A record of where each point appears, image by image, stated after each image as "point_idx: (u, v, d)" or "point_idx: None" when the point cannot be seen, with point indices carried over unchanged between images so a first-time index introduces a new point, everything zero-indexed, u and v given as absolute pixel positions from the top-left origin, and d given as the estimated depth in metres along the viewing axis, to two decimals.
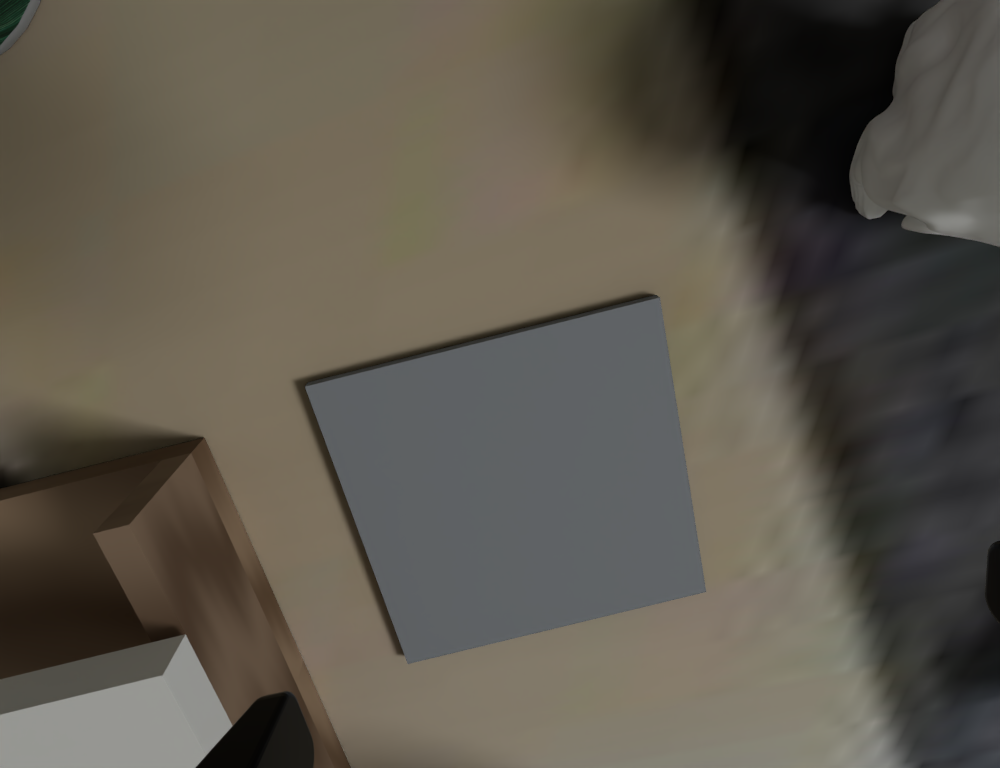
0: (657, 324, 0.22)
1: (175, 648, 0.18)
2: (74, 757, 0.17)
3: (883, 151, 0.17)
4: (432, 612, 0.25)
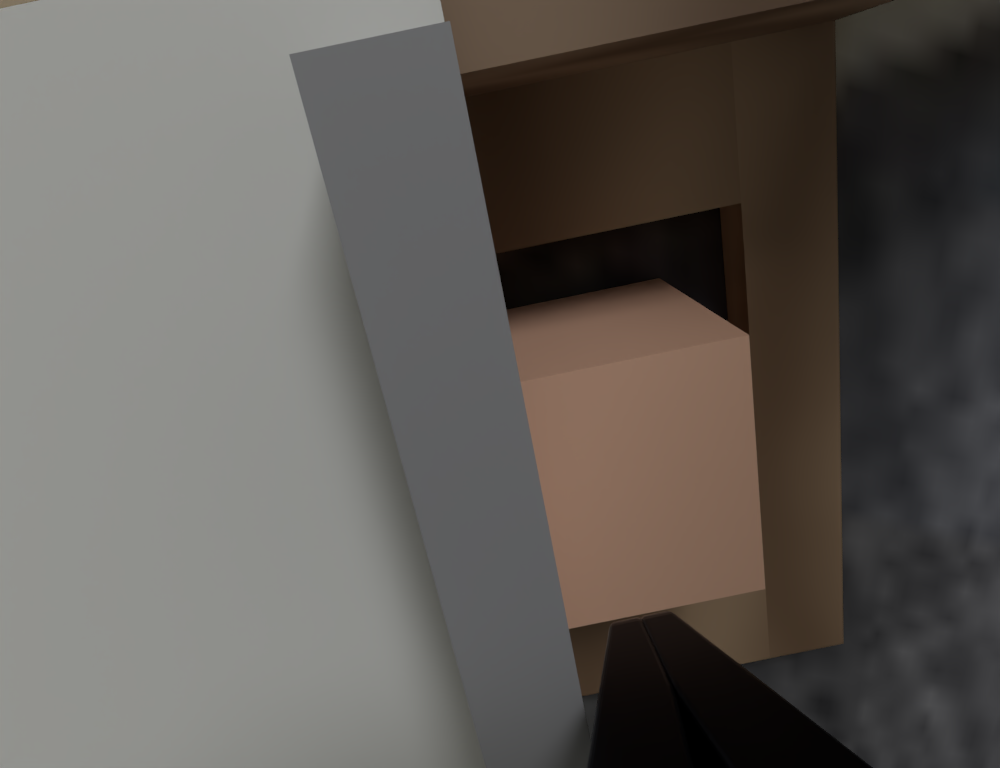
0: None
1: None
2: None
3: None
4: None
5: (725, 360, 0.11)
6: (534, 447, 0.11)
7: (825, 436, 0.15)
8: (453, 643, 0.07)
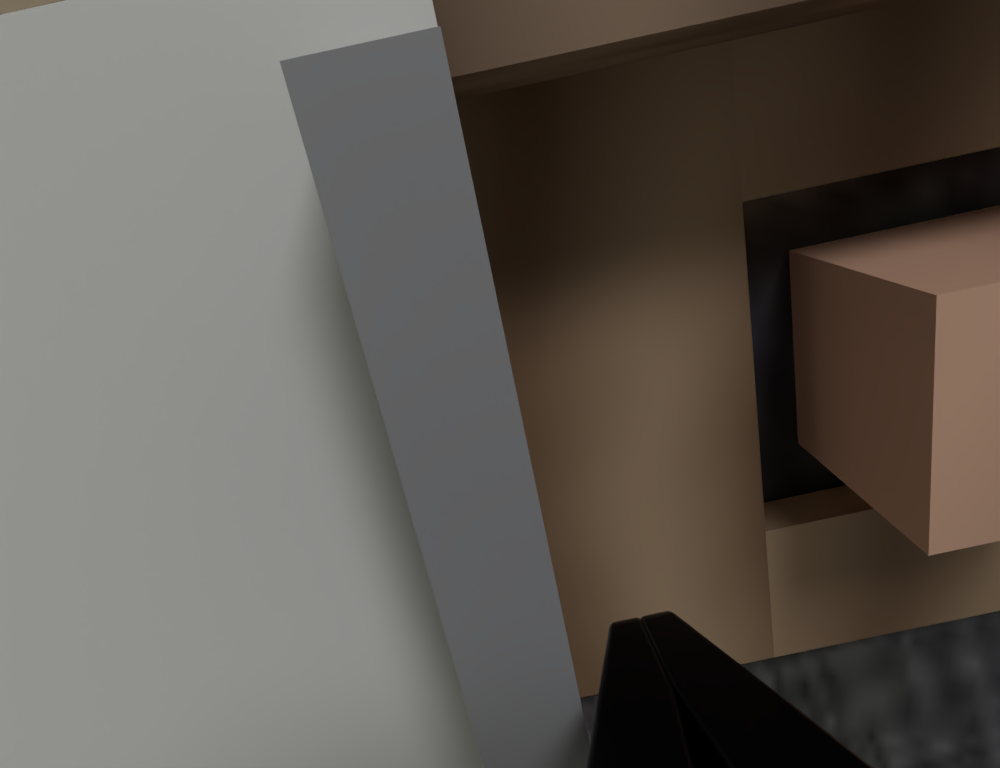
0: None
1: None
2: None
3: None
4: None
5: None
6: None
7: None
8: (451, 648, 0.07)
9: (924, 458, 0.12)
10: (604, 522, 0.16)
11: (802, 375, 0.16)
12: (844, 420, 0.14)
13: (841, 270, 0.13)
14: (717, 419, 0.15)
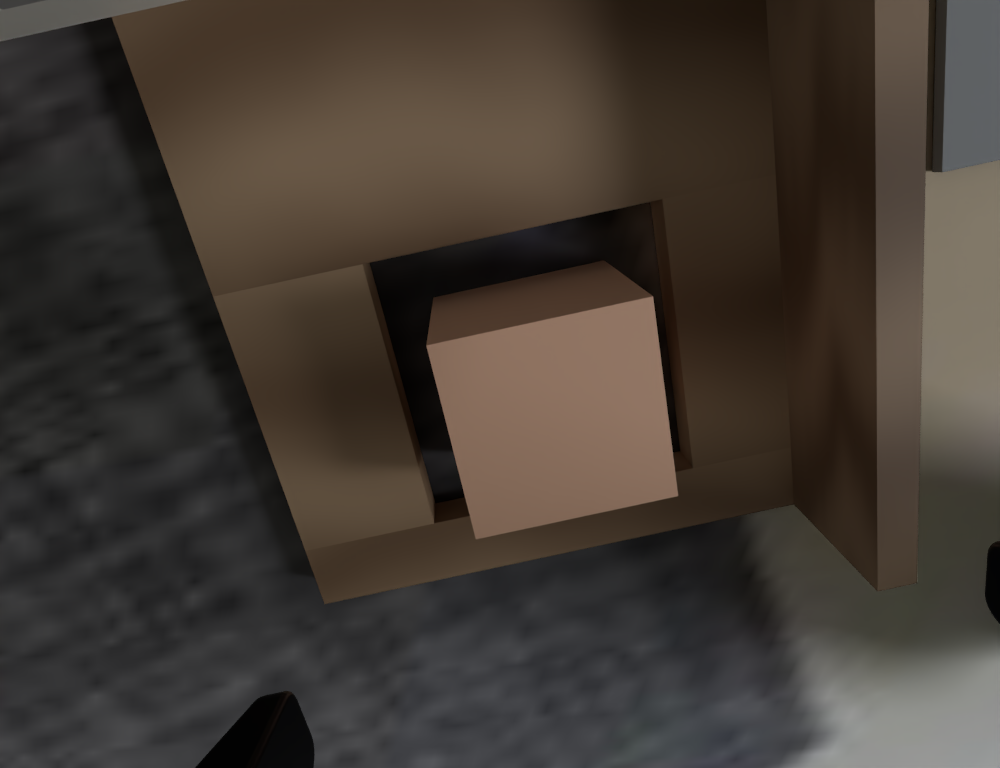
0: None
1: None
2: None
3: None
4: None
5: (662, 484, 0.16)
6: (607, 363, 0.15)
7: (518, 552, 0.20)
8: None
9: (513, 324, 0.14)
10: (367, 96, 0.16)
11: (503, 285, 0.18)
12: (492, 302, 0.17)
13: (619, 274, 0.17)
14: (477, 201, 0.17)
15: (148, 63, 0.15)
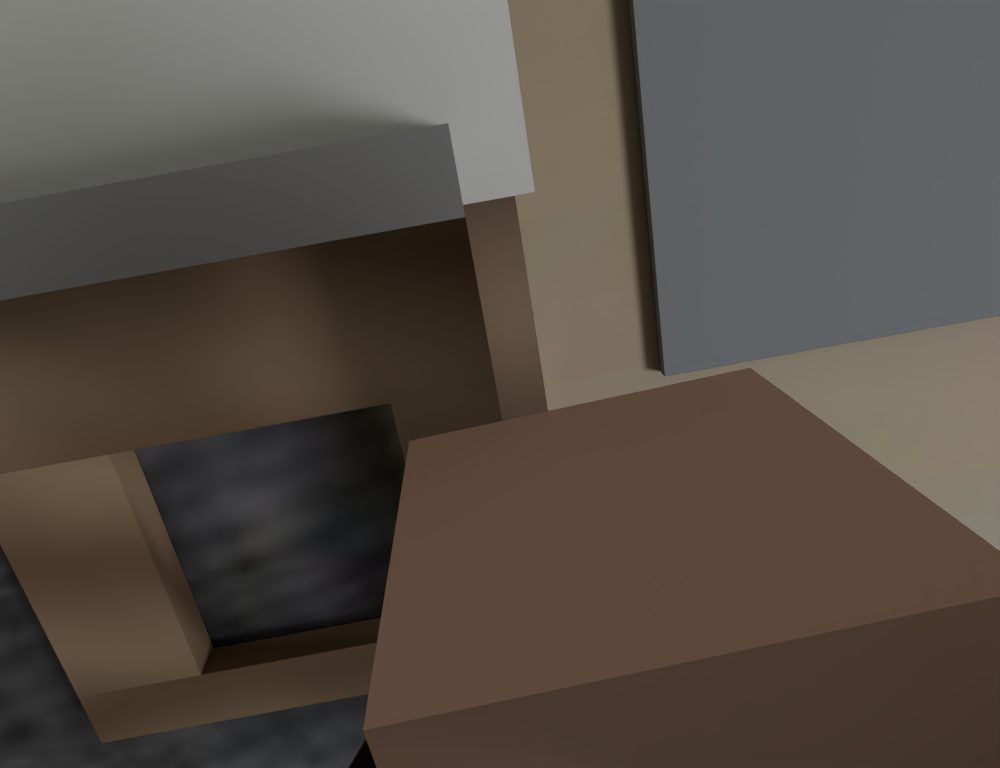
0: None
1: None
2: None
3: None
4: (713, 298, 0.19)
5: None
6: (881, 750, 0.05)
7: (285, 700, 0.22)
8: (28, 199, 0.08)
9: (620, 655, 0.05)
10: (99, 313, 0.17)
11: (551, 424, 0.09)
12: (535, 495, 0.07)
13: (829, 432, 0.07)
14: (213, 403, 0.18)
15: None
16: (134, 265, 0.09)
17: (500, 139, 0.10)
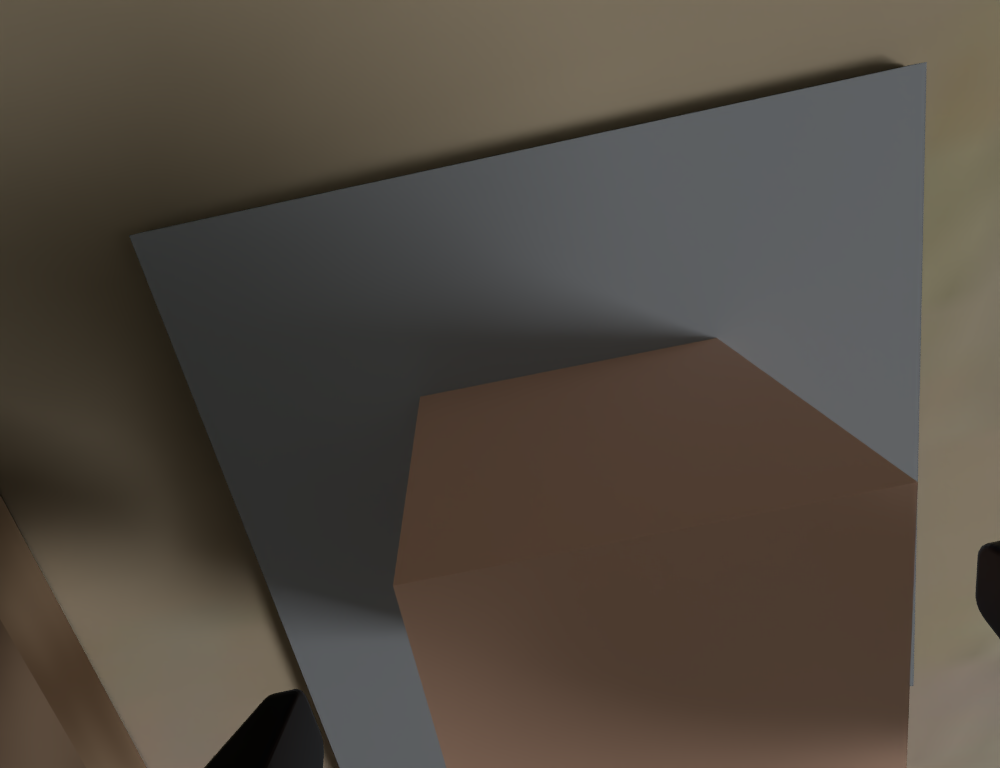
0: (911, 128, 0.10)
1: None
2: None
3: None
4: (402, 713, 0.13)
5: None
6: (795, 616, 0.07)
7: None
8: None
9: (592, 533, 0.06)
10: None
11: (543, 382, 0.10)
12: (529, 432, 0.09)
13: (774, 384, 0.09)
14: None
15: None
16: None
17: None
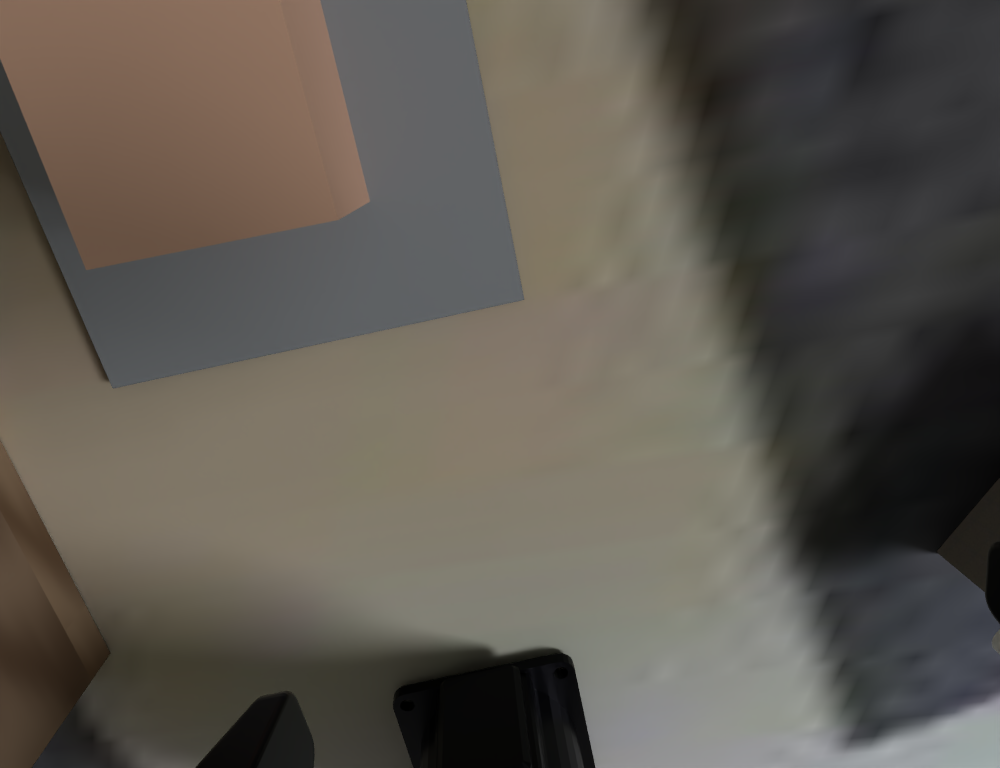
0: None
1: None
2: None
3: None
4: (138, 306, 0.18)
5: (314, 202, 0.13)
6: (214, 19, 0.11)
7: None
8: None
9: None
10: None
11: None
12: None
13: None
14: None
15: None
16: None
17: None
